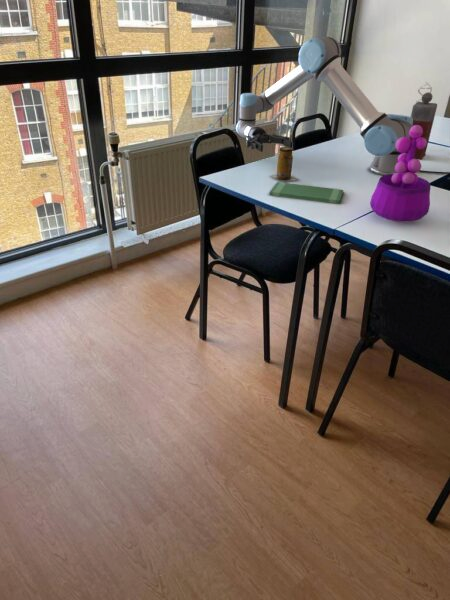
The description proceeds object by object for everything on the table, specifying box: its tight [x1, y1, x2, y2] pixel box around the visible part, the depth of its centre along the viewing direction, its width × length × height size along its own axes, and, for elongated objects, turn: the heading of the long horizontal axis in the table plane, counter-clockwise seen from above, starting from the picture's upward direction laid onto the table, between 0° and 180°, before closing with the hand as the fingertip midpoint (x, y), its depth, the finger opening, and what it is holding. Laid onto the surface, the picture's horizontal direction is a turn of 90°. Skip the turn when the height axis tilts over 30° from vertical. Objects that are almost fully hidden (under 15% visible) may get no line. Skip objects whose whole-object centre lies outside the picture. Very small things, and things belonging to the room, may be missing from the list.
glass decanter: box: [406, 91, 438, 161], centre depth 212 cm, size 9×11×28 cm
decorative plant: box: [369, 125, 431, 223], centre depth 148 cm, size 19×18×30 cm
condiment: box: [272, 146, 298, 183], centre depth 186 cm, size 7×8×12 cm
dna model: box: [414, 81, 433, 104], centre depth 224 cm, size 7×6×30 cm
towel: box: [269, 181, 344, 205], centre depth 174 cm, size 26×12×1 cm, turn 71°
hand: (276, 147), depth 190 cm, fingers open, 13 cm apart
